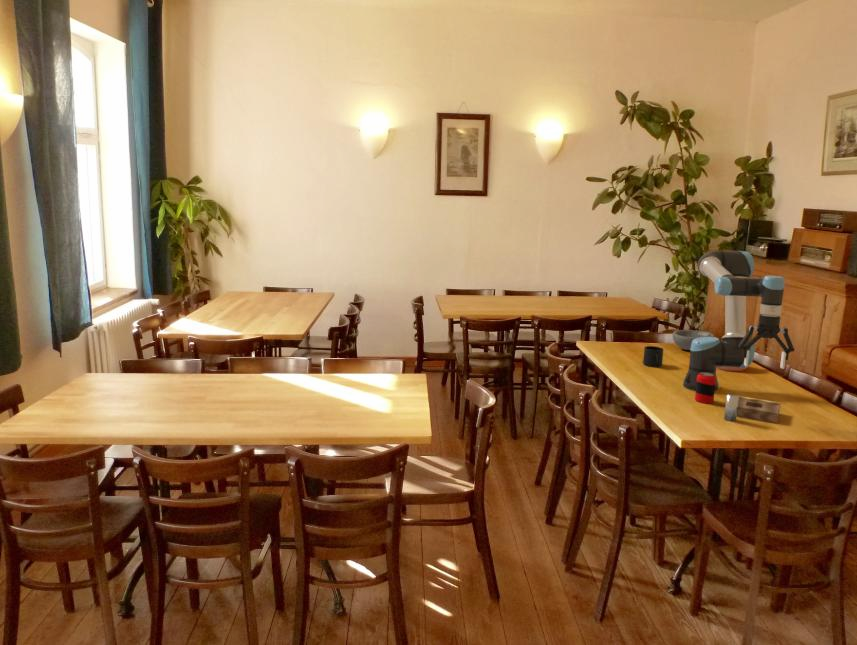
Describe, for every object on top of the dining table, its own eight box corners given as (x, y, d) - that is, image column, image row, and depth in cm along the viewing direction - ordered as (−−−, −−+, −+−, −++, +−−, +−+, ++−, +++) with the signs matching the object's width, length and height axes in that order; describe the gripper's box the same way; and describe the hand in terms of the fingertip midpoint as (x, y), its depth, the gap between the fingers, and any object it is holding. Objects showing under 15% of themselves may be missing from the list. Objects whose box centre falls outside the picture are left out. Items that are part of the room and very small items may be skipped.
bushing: (723, 420, 261) (725, 395, 259) (724, 417, 264) (727, 393, 263) (735, 422, 259) (738, 397, 257) (736, 419, 262) (739, 395, 260)
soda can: (692, 398, 289) (694, 371, 286) (709, 398, 289) (712, 372, 286) (698, 403, 281) (701, 376, 279) (716, 403, 281) (719, 376, 279)
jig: (726, 414, 268) (728, 403, 267) (731, 405, 279) (732, 394, 278) (776, 423, 258) (777, 411, 257) (779, 413, 270) (780, 402, 269)
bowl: (667, 344, 393) (669, 328, 391) (707, 346, 390) (708, 329, 388) (676, 353, 371) (677, 336, 369) (718, 355, 368) (720, 338, 366)
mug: (647, 368, 337) (648, 351, 335) (640, 362, 349) (642, 345, 347) (665, 368, 337) (667, 351, 335) (658, 363, 348) (660, 346, 347)
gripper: (738, 314, 260) (733, 366, 264) (807, 318, 255) (800, 371, 259) (734, 311, 267) (728, 362, 271) (800, 315, 263) (794, 366, 266)
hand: (763, 366), depth 265 cm, fingers open, 13 cm apart
